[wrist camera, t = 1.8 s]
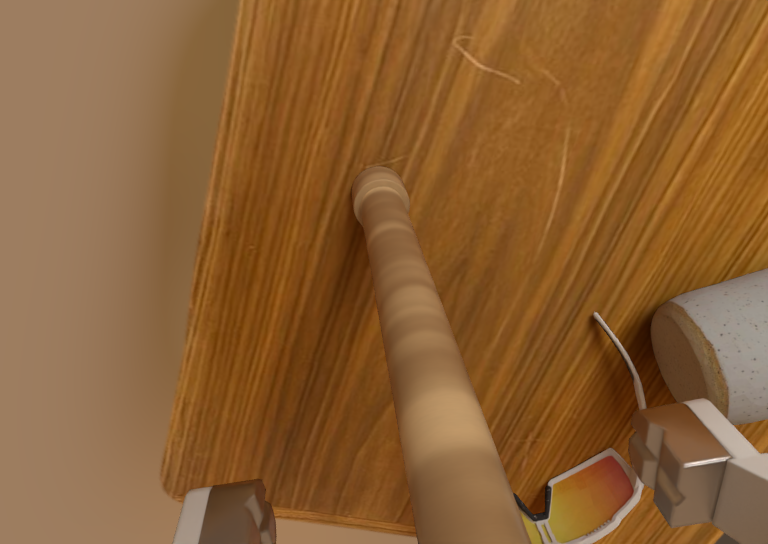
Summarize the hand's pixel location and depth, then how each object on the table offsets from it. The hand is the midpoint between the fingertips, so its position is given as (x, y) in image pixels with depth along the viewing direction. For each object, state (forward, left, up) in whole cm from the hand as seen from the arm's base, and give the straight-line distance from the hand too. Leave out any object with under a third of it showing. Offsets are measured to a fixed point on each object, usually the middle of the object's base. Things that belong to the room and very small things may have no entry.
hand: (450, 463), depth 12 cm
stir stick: (0, 0, -17) cm, 17 cm away
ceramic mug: (+12, +19, -17) cm, 28 cm away
